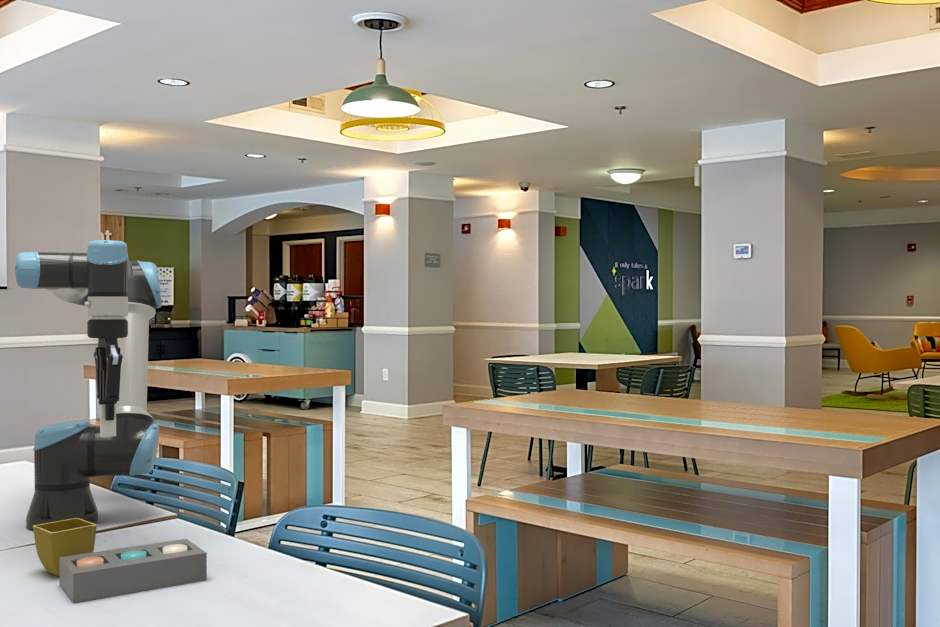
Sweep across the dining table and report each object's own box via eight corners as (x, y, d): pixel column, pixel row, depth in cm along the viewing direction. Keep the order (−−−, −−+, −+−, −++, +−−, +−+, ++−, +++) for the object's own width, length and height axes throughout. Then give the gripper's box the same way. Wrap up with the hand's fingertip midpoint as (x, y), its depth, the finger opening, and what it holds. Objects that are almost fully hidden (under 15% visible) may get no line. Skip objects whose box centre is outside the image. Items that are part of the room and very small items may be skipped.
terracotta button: (74, 577, 163) (74, 559, 162) (100, 572, 165) (100, 555, 165) (79, 583, 159) (79, 565, 159) (106, 579, 161) (106, 561, 161)
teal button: (118, 570, 167) (118, 552, 167) (142, 566, 169) (142, 549, 169) (124, 576, 163) (124, 558, 163) (149, 571, 166) (149, 554, 166)
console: (59, 584, 165) (59, 557, 165) (186, 564, 178) (186, 538, 178) (73, 603, 155) (73, 573, 155) (206, 579, 168) (206, 552, 168)
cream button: (159, 563, 171) (159, 546, 171) (183, 559, 174) (183, 542, 174) (166, 569, 167) (166, 551, 167) (190, 565, 170) (190, 548, 170)
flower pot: (32, 572, 173) (31, 524, 172) (77, 562, 179) (77, 516, 179) (51, 581, 167) (51, 532, 166) (98, 571, 173) (98, 524, 173)
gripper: (80, 317, 184) (81, 433, 185) (95, 318, 174) (95, 442, 174) (119, 317, 189) (119, 430, 189) (135, 318, 178) (136, 438, 178)
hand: (108, 436), depth 182 cm, fingers closed
